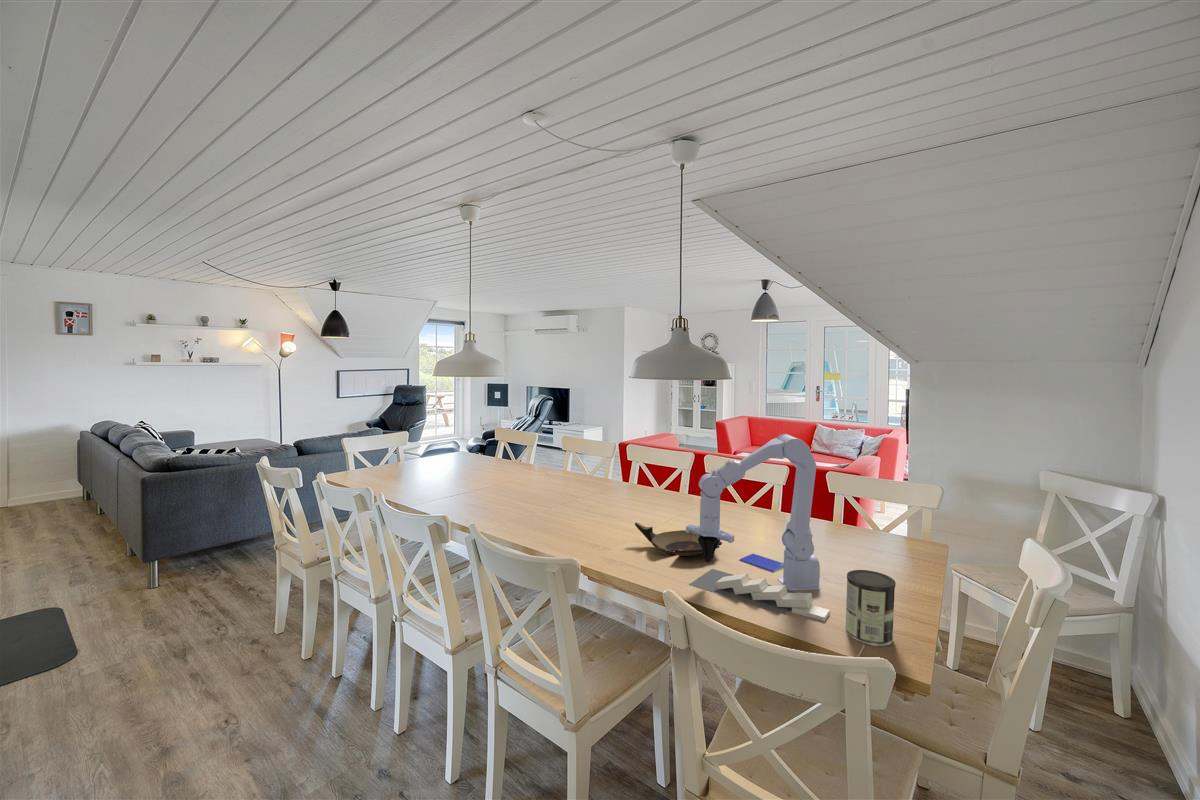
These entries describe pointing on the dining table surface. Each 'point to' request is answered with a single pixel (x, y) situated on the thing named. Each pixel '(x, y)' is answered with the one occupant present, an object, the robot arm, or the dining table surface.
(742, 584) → the domino
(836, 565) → the dining table surface
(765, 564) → the hard drive
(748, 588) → the domino
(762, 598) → the domino
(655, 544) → the oil lamp
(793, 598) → the domino
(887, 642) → the coffee can
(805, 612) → the domino
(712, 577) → the mat
